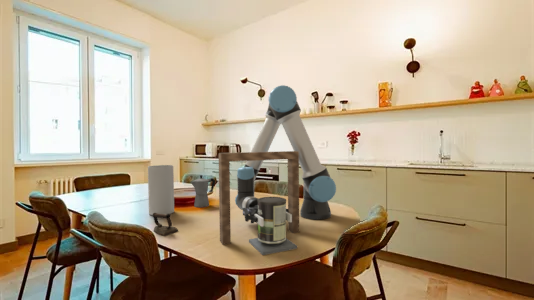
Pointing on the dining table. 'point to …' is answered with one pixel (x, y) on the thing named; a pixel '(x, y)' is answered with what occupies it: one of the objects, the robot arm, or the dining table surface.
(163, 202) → the cylinder vase
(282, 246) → the slate mat
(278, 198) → the coffee can
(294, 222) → the walnut archway
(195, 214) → the dining table surface
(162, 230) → the clothes iron
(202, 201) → the coffeepot
